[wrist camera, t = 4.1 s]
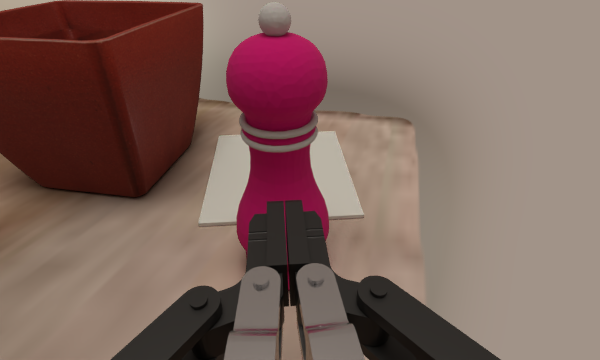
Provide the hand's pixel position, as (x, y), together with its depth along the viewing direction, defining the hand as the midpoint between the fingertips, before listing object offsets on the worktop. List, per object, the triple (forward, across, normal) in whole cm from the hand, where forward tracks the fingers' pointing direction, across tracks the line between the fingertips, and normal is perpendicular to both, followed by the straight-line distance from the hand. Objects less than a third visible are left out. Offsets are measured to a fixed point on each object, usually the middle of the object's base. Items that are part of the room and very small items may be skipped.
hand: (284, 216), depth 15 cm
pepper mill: (+9, 0, +13) cm, 16 cm away
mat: (+23, 0, +13) cm, 27 cm away
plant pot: (+27, +19, +13) cm, 35 cm away
